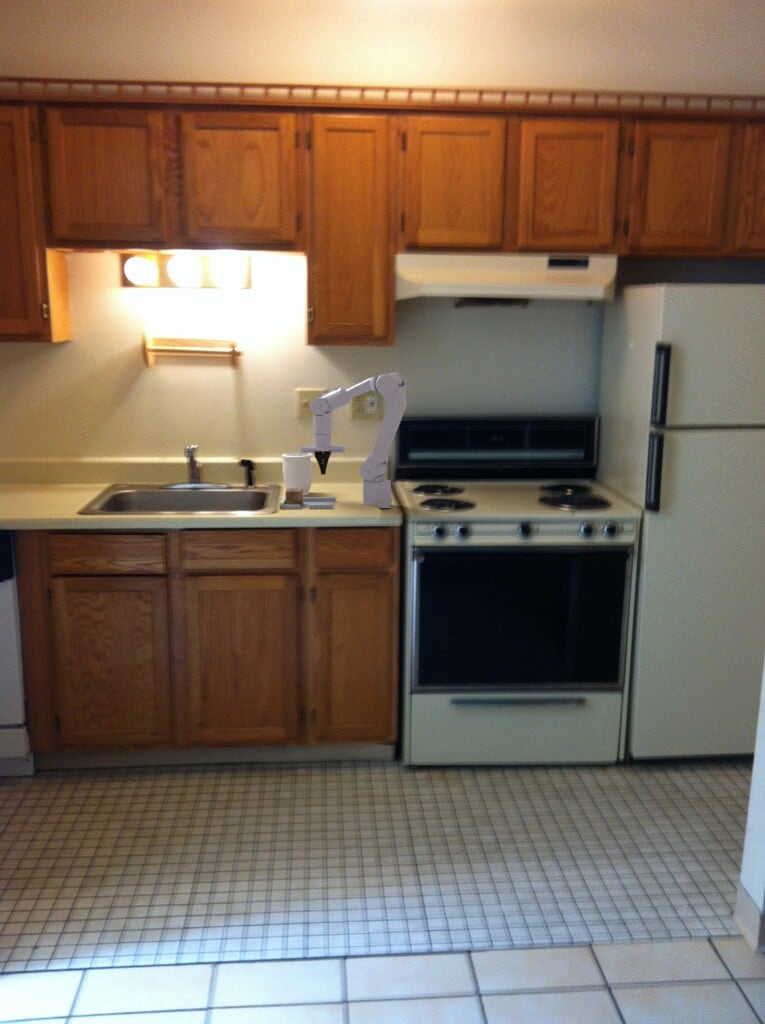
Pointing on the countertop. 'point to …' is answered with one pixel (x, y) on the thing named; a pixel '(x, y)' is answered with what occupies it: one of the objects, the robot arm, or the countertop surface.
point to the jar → (297, 471)
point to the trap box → (311, 503)
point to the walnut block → (294, 496)
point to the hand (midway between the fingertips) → (323, 474)
